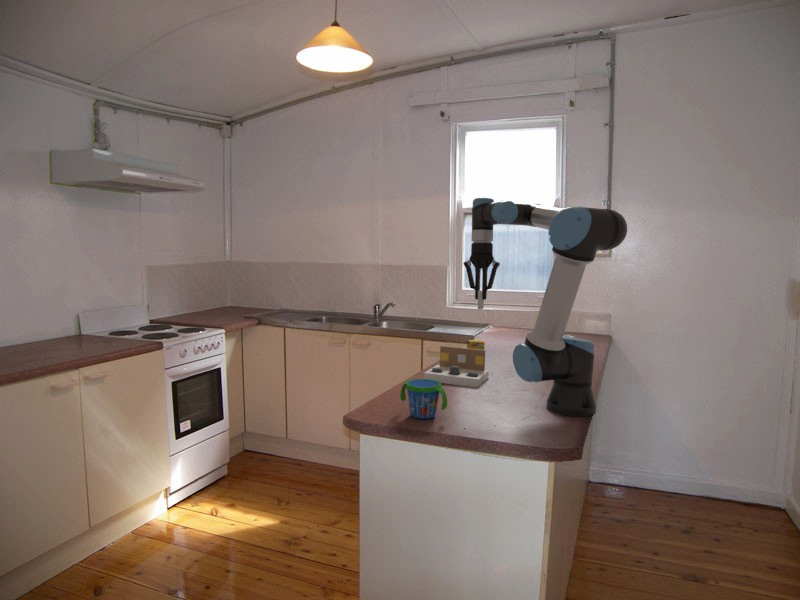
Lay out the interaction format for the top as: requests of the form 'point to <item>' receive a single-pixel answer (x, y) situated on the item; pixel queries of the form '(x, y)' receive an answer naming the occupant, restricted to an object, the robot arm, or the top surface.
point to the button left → (437, 370)
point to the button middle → (454, 370)
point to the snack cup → (423, 397)
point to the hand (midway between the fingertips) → (480, 308)
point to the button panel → (465, 360)
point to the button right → (472, 374)
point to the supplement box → (475, 344)
